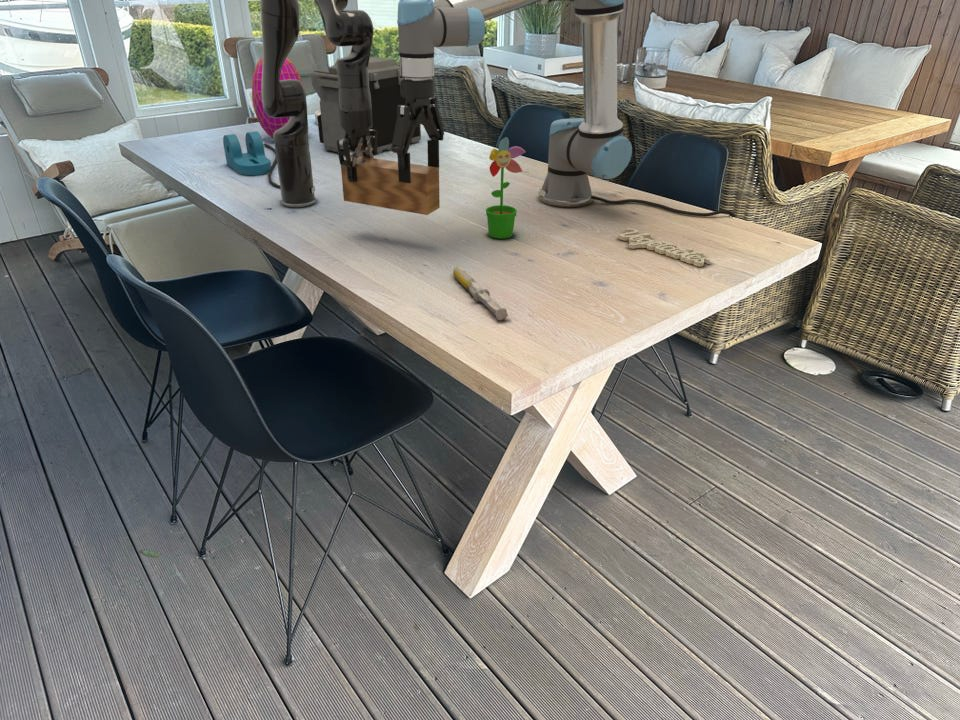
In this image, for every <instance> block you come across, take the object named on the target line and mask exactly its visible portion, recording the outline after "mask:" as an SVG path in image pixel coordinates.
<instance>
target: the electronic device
mask: <svg viewBox="0 0 960 720" xmlns="http://www.w3.org/2000/svg"><path fill="white" fill-rule="evenodd" d="M339 59H340V58H337V59H336V60H335V63H334V64H333V65H330V66H329V67H328V72H327V71H320V70H314V71H313V70H312V71H310V79H311V87H313V90H314V91H315V93H316V94H317V96H318V98H319V110H320V111H321V115H319V116H318V117H317V120H318V125H317V128H318V138H319V143H320V144H323V146H324V149H325V150H327V151H330V152H335V153H338V149H337V140H342V139H344V136H345V130H344V129H343V128H342V127H341V125H340V114H339V102H338V77H337V61H338V60H339ZM368 76H369V89H370V94H371V106H372V121H373V126H372V127H371V128H370V129H372V130H377V154H381V153H382V152H383V151H391V146H392V141H393V135H394V130H395V125H396V120H397V107H398V105H404V106H405V104H406V99H405V98H404V97H402V96H401V92H400V80H401V79H402V78H403V77H402V76H401V75H400V64H396V62H395V60H394V59H393V58H385V57H377V56H370V58H369V63H368ZM403 117H404V116H403ZM421 124H422V122H421V123H419V125H418V127H416V128H415V131H414V134H413V137H412V140H411V143H410V144H416V143H418V142H419V141H421V137H422V128H421ZM371 146H372V150H373V145H372V144H371ZM396 146H397V145H396ZM350 152H351V150H350ZM351 153H354V152H351ZM359 156H361V157H363V156H362V154H361V152H360V155H359Z"/></svg>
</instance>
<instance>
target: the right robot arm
mask: <svg viewBox="0 0 960 720" xmlns="http://www.w3.org/2000/svg"><path fill="white" fill-rule="evenodd" d="M552 2H574V15H575V16H576V17H577V19H579V20H580V22H581V50H582V51H581V53H582V83H583V85H582V89H583V90H582V91H583V92H582V93H583V117H577V118H576V117H575V118H574V117H573V118H562V119H556V120H554V121H553V122H551V124H550V129H549V134H548V136H549V138H548V139H549V141H548V156H547V157H548V159H547V173H546V176H545V178H544V181H543V184H542V187H541V188H539V191H538V195H539V200H540V202H542V203H543V204H546V205H549V206H553V207H558V208H559V207H560V208H580V207H584V206H588V205H589V204H591V203H592V200H593V201H594V200H595V201H598V202H602V203H604V204H608V205H621V204H627V203H628V204H629V203H635V204H643V205H648V206H653V207H656V208H659V209H663V210H666V211H669V212H671V213H676V214H681V215H687V216H694V217H713V216H716V215H720V214H721V215H722V214H727V215H729V216H730V217H731V218H736V214H735V213H734V212H733V211H731V210H729V209H719V210H715V211H711V212H710V211H709V212H696V211H689V210H688V211H687V210H682V209H677V208H675V207H674V208H673V207H671V206H667V205H666V204H665V205H664V204H660V203H658V202H653V201H649V200H644V199H636V198H627V199H618V200H610V199H607V198H606V199H605V198H603V197H599V196H595V195H593V193H592V188H591V184H590V179H589V175H591V176H593V177H595V178H599V179H604V180H611V179H614V178H617V177H618V176H620V175H621V174H622V173H623V172H624V171H625V169H626V168H627V167H628V165H629V164H630V162H631V160H632V159H631V158H632V155H633V146H632V142H631V141H630V140H629V139H628V138H627V137H626V136H624V122H623V121H621V120H620V119H619V118H618V18H619V16H620V15H621V14H622V12H624V8H625V7H624V6H625V2H626V0H436V1H434V0H398V3H397V21H396V24H397V31H398V33H397V34H398V51H399V52H398V55H399V61H398V65H400V75H401V76H402V77H403V78H402V79H401V80H400V92H401V96H402V97H404V98H405V99H406V104H405V106H404V105H398V107H397V120H396V125H395V130H394V135H393V141H392V146H391V150H390V151H391V152H392V153H394V154H397V162H398V174H399V182H403V183H411V172H410V164H411V153H410V152H409V150H410V146H411V144H412V143H411V140H412V137H413V134H414V131H415V128H416V127H418V125H419V123H421V124H422V126H423V128H424V130H425V132H426V135H427V136H428V139H427V141H426V142H427V166H430V167H437V168H439V169H440V141H443V140H444V135H445V130H444V126H443V123H442V119H441V115H440V111H439V107H438V98H437V97H436V96H435V94H436V91H435V90H436V89H435V87H436V86H435V83H436V82H435V80H434V78H433V77H434V76H435V48H441V47H442V48H443V47H447V48H448V47H465V48H468V47H470V46H471V47H472V46H477V45H479V44H481V43H482V41H483V40H484V37H485V34H486V22H487V21H490V20H493V19H495V18H498V17H501V16H503V15H506V14H509V13H512V12H515V11H518V10H520V9H523V8H525V7H528V6H531V5H535V4H536V3H537V4H539V5H542V6H544V5H546V4H549V3H552ZM403 116H404V117H403ZM396 145H397V146H396Z"/></svg>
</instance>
